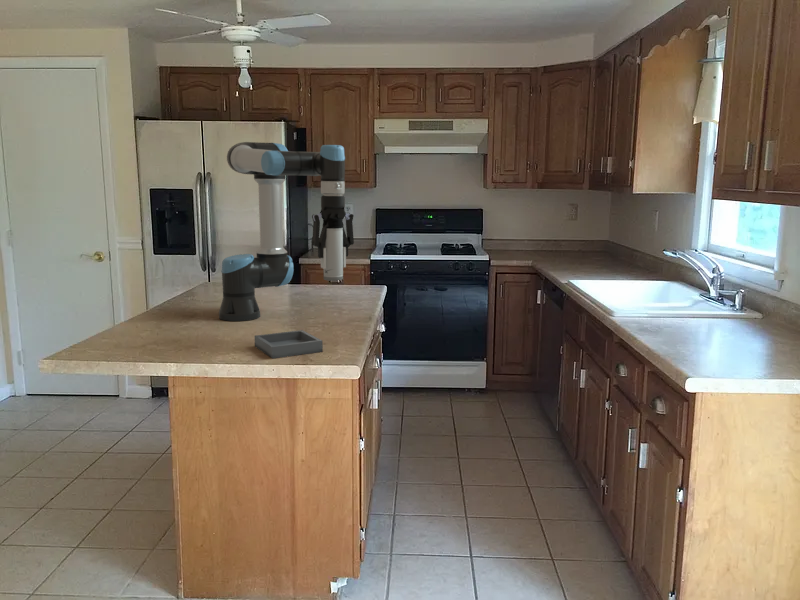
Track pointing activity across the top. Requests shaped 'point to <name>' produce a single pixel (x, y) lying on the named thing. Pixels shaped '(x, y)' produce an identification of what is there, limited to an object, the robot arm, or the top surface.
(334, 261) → the travel mug
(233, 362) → the top surface
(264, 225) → the robot arm
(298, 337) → the tray
